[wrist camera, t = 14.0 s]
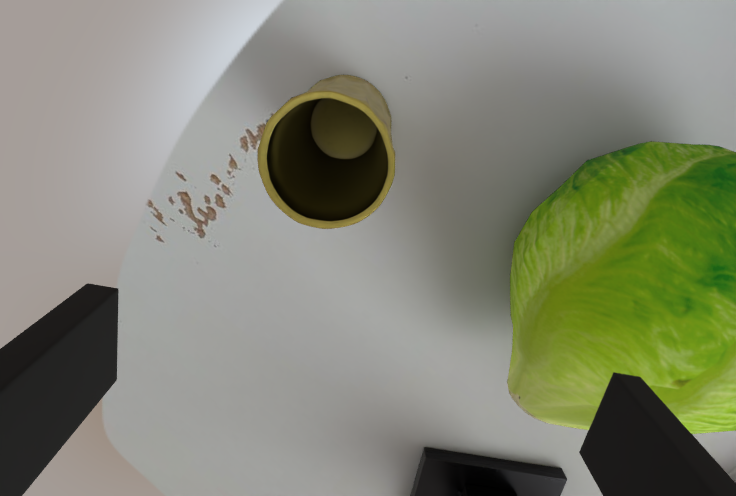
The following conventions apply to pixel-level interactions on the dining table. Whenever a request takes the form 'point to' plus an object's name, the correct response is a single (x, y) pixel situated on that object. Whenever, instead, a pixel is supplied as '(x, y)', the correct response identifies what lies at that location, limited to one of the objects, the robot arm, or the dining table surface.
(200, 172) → the dining table surface
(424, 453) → the stand
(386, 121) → the vase
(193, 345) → the dining table surface
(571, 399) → the lettuce
